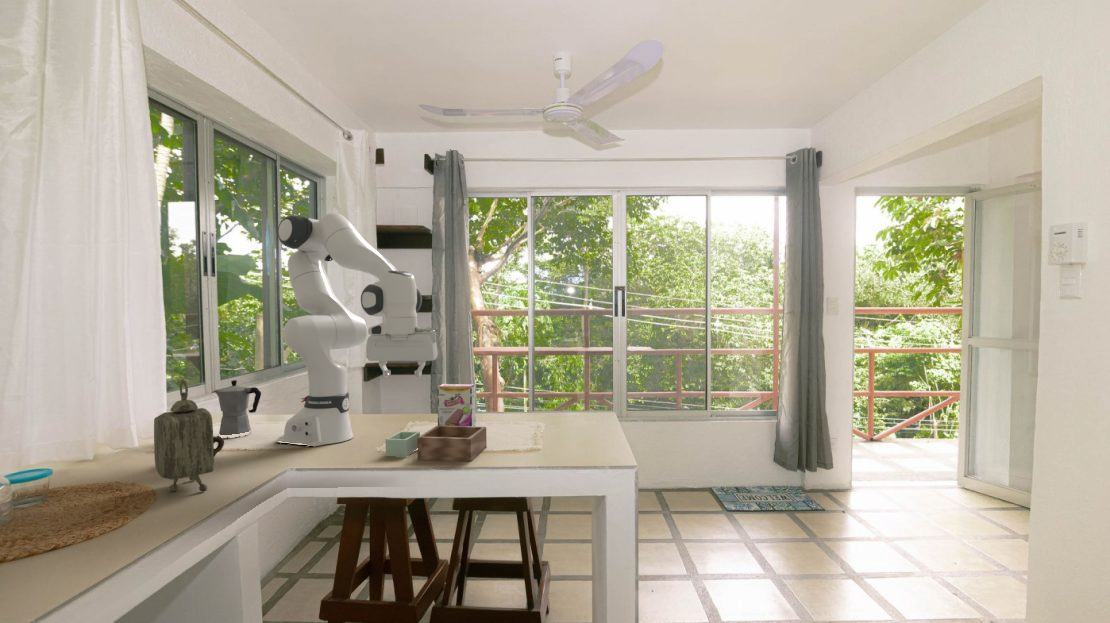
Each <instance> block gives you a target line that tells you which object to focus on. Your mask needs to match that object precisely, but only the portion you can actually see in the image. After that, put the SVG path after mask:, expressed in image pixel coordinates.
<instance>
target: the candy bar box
mask: <svg viewBox="0 0 1110 623" xmlns="http://www.w3.org/2000/svg"><path fill="white" fill-rule="evenodd" d="M476 423H477V422H476V384H473V383H471V384H470V383H469V384H468V383H467V384H465V383H464V384H463V383H461V384H459V383H457V384H456V383H441V384H439V385H437V425H438V426H474V427H477V426H476Z"/></svg>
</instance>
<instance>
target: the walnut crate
mask: <svg viewBox="0 0 1110 623" xmlns="http://www.w3.org/2000/svg"><path fill="white" fill-rule="evenodd" d="M417 442H418V450H417V460H424V461H447V462H449V461H450V462H469V463H470V462H472V461H473V460H475V459H476V458H477V457H478V456H479V455H480V454H481V453H482V452H483V451H484V450H485V449H486V448H487V444H488V443H487V426H476V427H474V426H438V424H437V425H436V426H433V427H432V428H431V429H429V430H427V431H426V432H424V433H422V434H420V436H419V437H417Z"/></svg>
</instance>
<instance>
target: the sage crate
mask: <svg viewBox="0 0 1110 623" xmlns="http://www.w3.org/2000/svg"><path fill="white" fill-rule="evenodd" d="M419 436H421V433H420V431H401V430H400V431H398V432H397V433H394V434H393V435H391V436H389V437H387V438H386V439H385V457H386V456H396V457H395V458H408V457H409V456H411V455H412V454H413V453H412V452H413V451H414V450H416V449H417V448H418V442H417V437H419ZM411 453H412V454H411ZM410 454H411V455H410ZM407 456H408V457H407Z"/></svg>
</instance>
